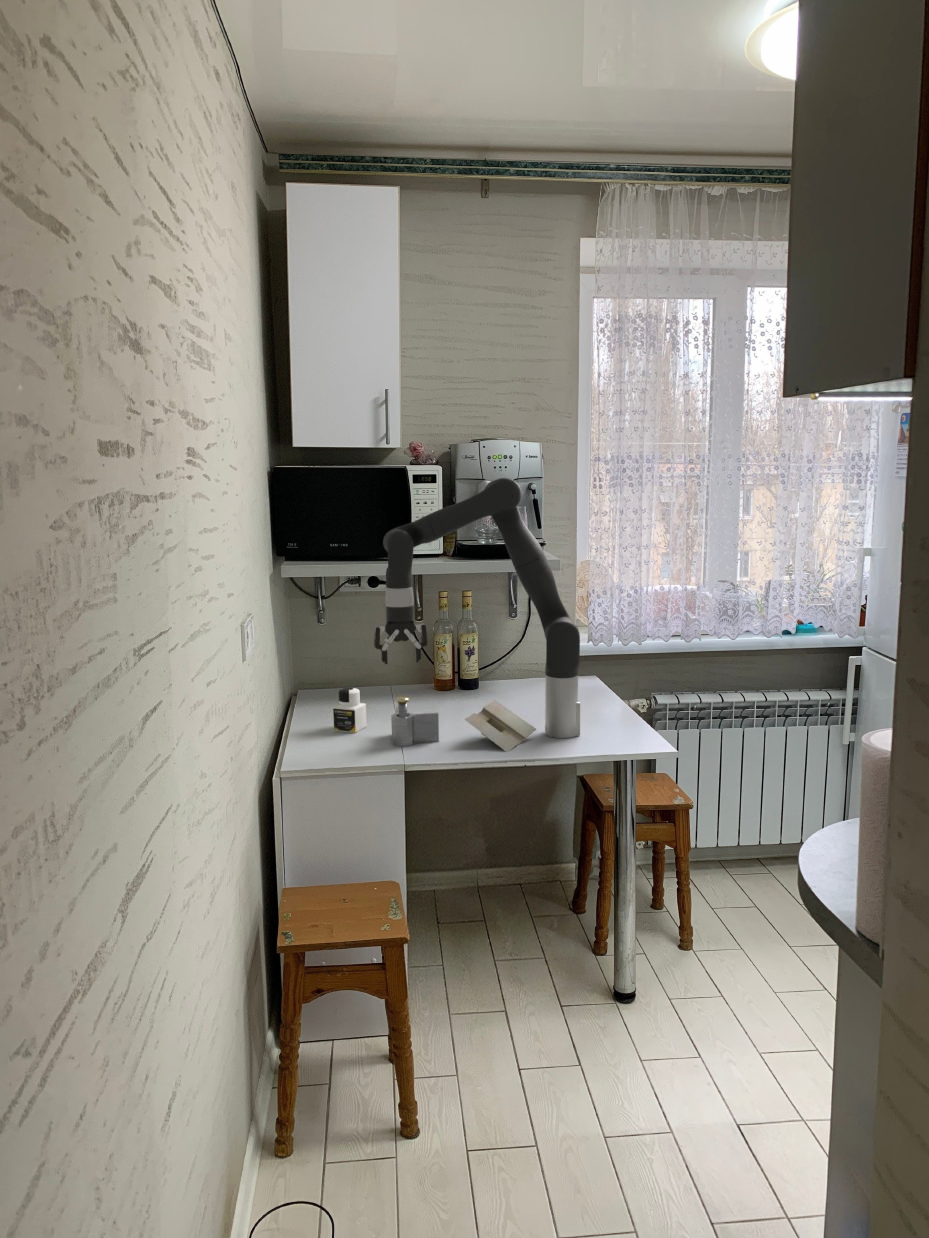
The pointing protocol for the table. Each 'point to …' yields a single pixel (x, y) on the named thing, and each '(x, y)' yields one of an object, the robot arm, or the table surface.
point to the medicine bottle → (349, 711)
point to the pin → (402, 706)
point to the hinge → (414, 728)
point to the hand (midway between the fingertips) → (401, 662)
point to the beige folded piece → (501, 725)
